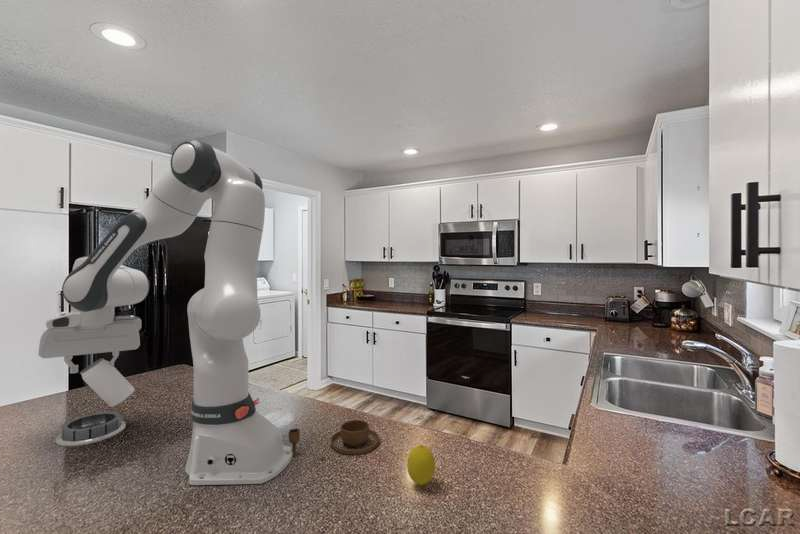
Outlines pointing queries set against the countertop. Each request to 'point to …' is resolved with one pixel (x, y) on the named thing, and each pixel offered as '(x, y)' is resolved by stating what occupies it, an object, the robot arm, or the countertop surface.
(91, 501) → the countertop surface
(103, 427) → the notched rim bowl
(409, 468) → the lemon
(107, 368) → the can
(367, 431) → the place setting
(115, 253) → the robot arm
